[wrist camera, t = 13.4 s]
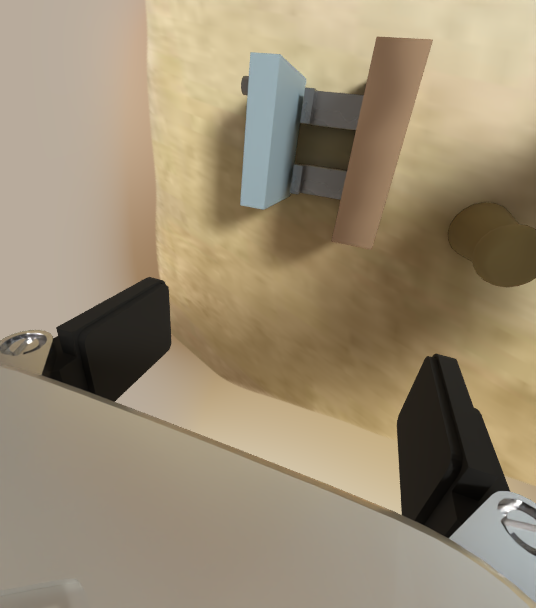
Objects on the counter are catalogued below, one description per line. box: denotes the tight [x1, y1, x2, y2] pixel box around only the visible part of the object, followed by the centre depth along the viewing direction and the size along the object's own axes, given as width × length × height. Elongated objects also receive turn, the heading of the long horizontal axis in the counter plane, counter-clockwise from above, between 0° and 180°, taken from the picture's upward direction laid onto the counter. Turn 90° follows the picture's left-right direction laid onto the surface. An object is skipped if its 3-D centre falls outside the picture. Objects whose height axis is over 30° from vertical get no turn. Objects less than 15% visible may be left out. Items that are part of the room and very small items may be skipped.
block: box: [240, 52, 306, 210], centre depth 32 cm, size 4×12×10 cm, turn 173°
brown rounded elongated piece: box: [448, 202, 536, 287], centre depth 29 cm, size 6×6×11 cm
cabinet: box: [332, 37, 433, 249], centre depth 28 cm, size 4×14×12 cm, turn 173°
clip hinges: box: [290, 88, 364, 200], centre depth 34 cm, size 12×10×3 cm
